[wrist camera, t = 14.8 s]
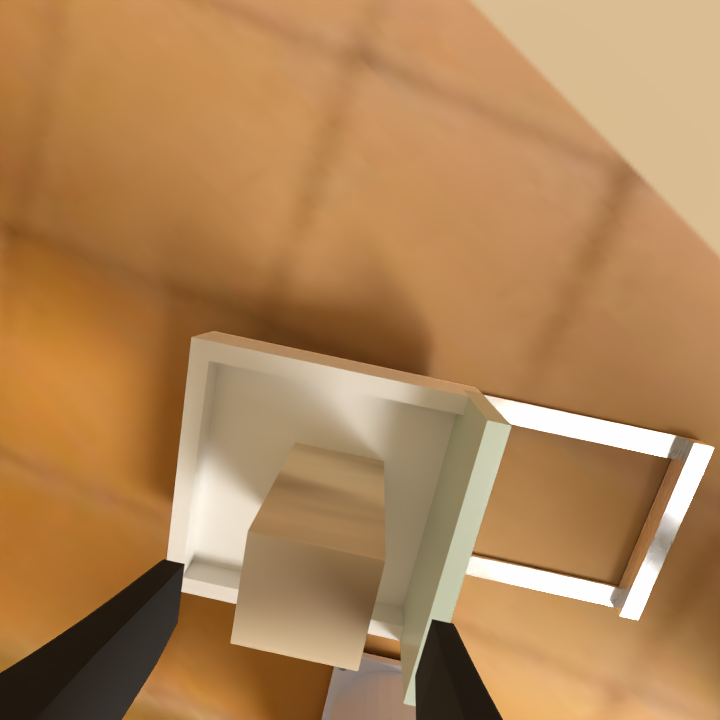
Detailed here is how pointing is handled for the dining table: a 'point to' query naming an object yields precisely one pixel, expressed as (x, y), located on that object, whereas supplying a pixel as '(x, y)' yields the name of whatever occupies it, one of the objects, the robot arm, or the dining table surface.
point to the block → (314, 559)
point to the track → (658, 525)
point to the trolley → (343, 434)
